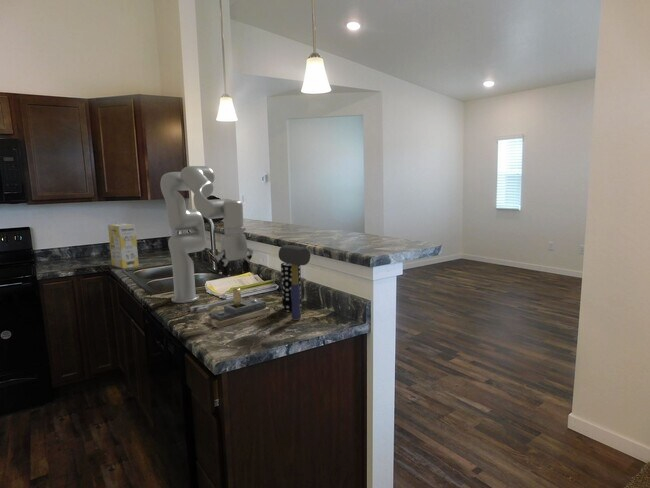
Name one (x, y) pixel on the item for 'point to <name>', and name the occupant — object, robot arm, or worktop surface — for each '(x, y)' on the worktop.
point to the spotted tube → (288, 286)
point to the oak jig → (236, 318)
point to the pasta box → (123, 245)
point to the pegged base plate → (238, 309)
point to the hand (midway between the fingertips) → (235, 273)
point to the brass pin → (237, 297)
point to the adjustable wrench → (210, 305)
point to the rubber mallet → (295, 272)
